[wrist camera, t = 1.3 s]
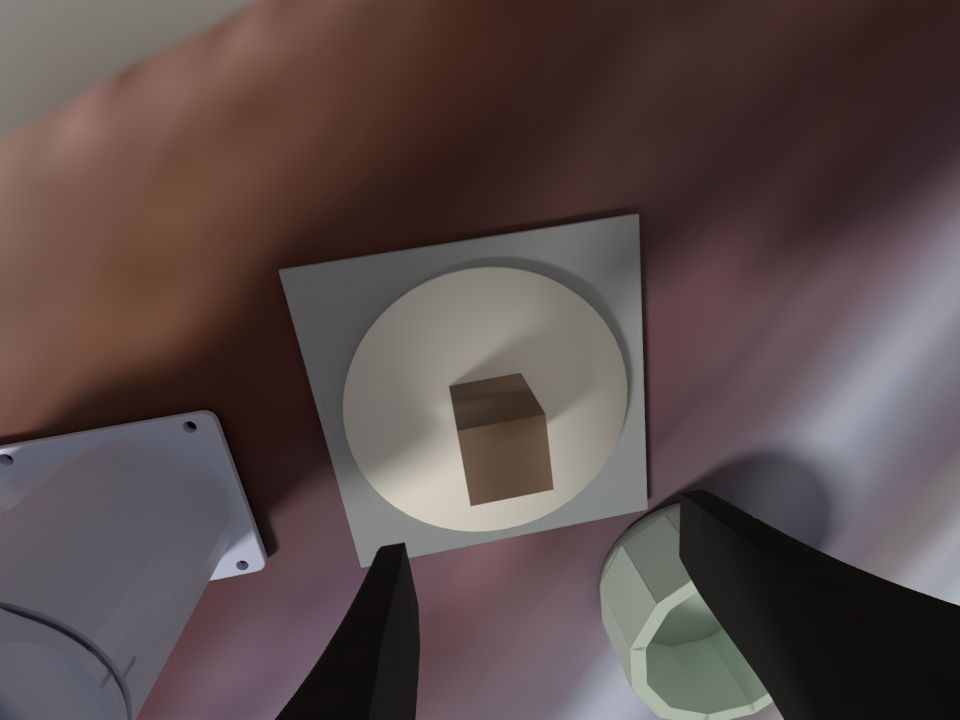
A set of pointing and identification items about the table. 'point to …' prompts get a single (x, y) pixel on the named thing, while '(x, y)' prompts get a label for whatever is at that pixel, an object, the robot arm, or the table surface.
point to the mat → (386, 276)
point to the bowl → (671, 629)
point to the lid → (484, 398)
